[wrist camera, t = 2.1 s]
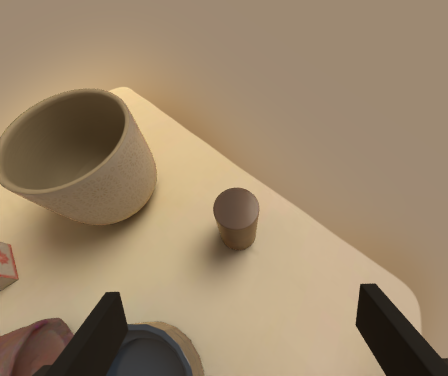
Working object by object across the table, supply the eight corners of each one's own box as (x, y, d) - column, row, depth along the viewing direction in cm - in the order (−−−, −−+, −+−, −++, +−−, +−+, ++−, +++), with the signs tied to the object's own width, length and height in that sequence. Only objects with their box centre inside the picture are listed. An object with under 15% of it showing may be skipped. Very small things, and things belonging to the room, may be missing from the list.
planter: (87, 255, 36) (-6, 223, 23) (66, 179, 43) (-13, 122, 30) (182, 202, 39) (149, 146, 26) (146, 140, 47) (107, 72, 33)
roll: (254, 215, 37) (256, 186, 28) (257, 249, 34) (261, 228, 25) (220, 217, 37) (213, 188, 28) (221, 251, 35) (213, 231, 26)
